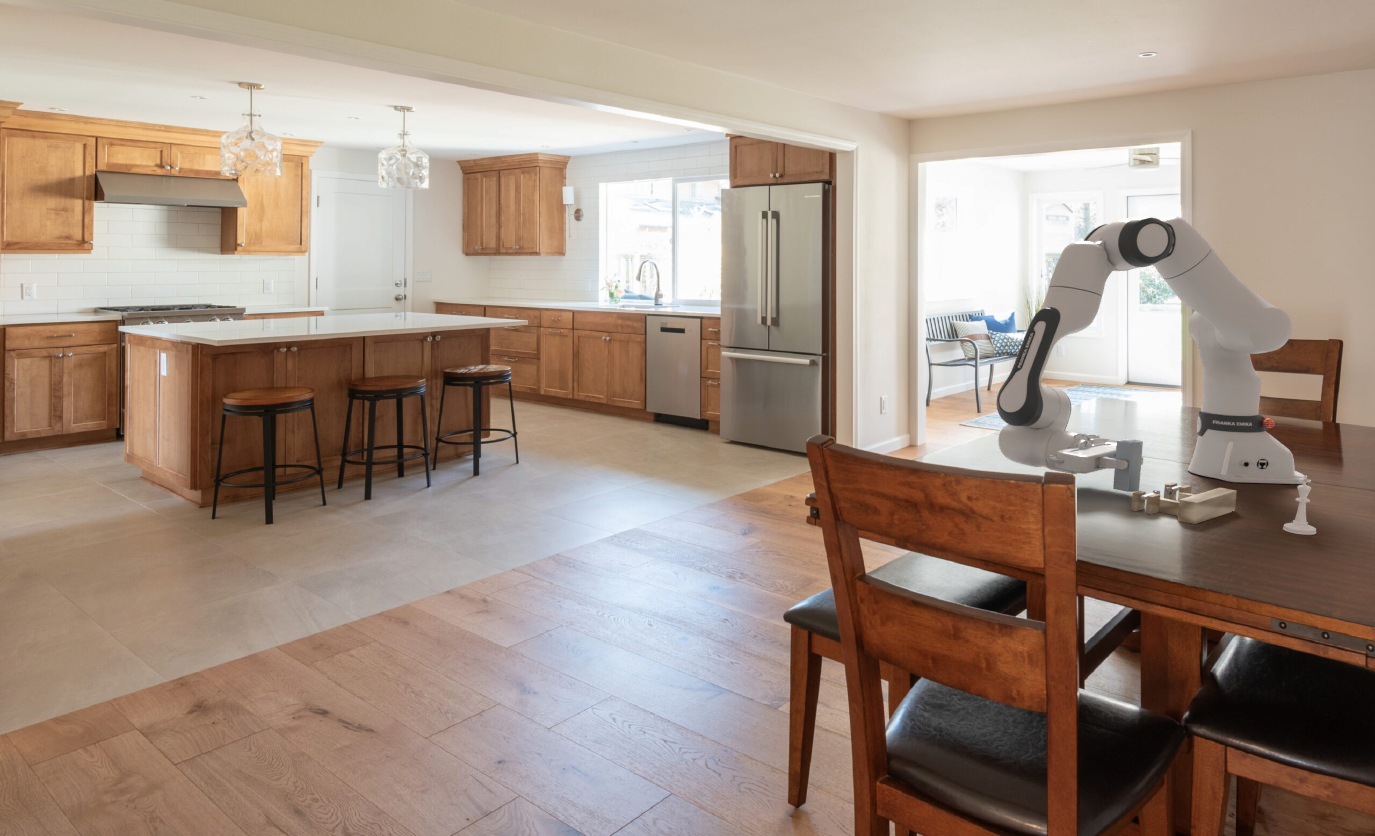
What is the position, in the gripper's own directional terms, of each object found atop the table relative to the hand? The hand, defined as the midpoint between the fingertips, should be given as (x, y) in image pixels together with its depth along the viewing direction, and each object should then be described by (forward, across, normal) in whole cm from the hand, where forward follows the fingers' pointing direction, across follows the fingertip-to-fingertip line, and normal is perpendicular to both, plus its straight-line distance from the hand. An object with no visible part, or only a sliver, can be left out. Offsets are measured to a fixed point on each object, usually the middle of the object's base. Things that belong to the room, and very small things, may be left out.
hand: (1134, 463), depth 177 cm
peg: (-1, 0, +6) cm, 6 cm away
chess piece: (+29, +2, +8) cm, 30 cm away
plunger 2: (+6, +4, +5) cm, 9 cm away
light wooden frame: (+10, 0, +8) cm, 12 cm away
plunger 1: (+6, -5, +5) cm, 9 cm away
